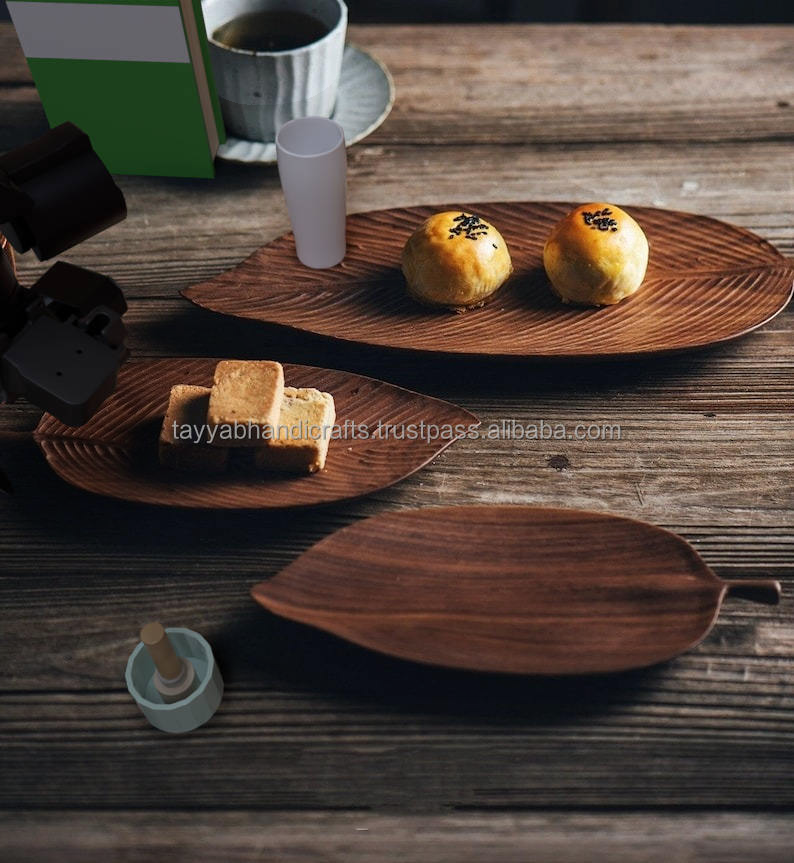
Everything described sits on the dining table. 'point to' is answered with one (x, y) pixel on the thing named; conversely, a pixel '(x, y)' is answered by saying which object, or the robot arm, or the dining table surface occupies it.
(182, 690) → the brush
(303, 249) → the drinking glass
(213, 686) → the cup
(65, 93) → the hardback book
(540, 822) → the dining table surface
